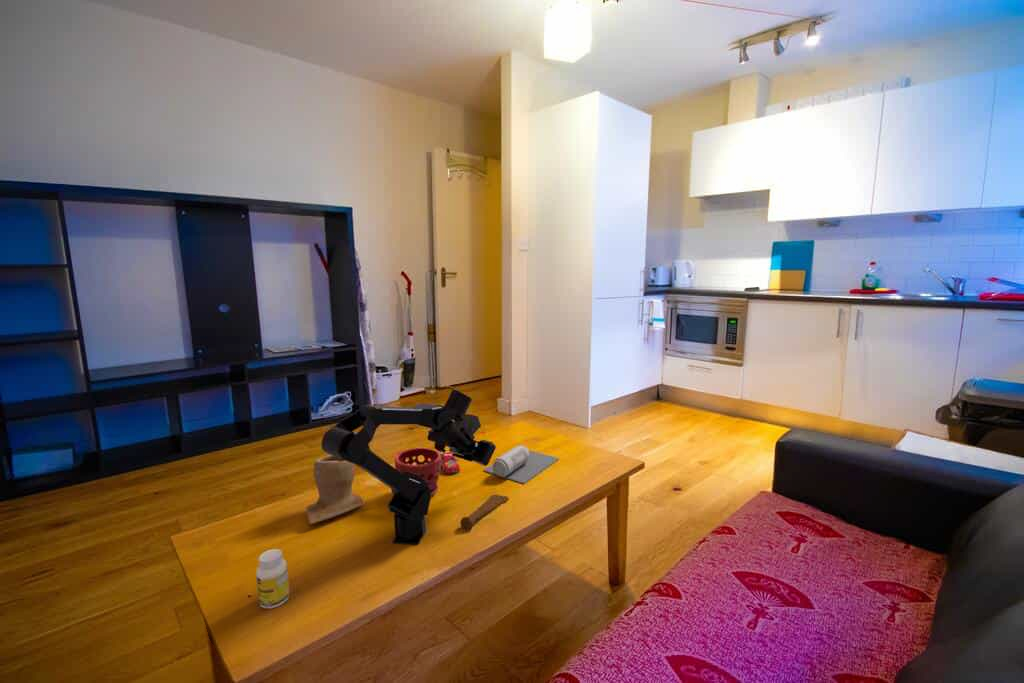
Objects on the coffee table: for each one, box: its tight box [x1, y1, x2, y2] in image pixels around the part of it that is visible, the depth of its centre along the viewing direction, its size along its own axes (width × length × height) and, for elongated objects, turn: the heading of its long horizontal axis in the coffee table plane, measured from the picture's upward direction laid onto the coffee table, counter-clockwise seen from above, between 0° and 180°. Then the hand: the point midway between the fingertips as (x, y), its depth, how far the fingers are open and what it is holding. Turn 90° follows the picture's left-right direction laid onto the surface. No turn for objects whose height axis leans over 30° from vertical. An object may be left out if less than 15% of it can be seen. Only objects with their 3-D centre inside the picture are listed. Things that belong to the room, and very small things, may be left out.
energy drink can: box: [492, 445, 531, 478], centre depth 144 cm, size 6×6×15 cm
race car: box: [440, 451, 461, 475], centre depth 148 cm, size 13×5×4 cm, turn 19°
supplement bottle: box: [255, 548, 291, 609], centre depth 87 cm, size 5×5×10 cm
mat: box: [482, 449, 560, 485], centre depth 149 cm, size 22×16×1 cm
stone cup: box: [305, 454, 364, 525], centre depth 120 cm, size 15×12×15 cm
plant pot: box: [394, 447, 442, 498], centre depth 129 cm, size 13×13×12 cm
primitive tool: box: [460, 494, 510, 531], centre depth 119 cm, size 19×6×4 cm, turn 155°
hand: (477, 459), depth 128 cm, fingers closed
